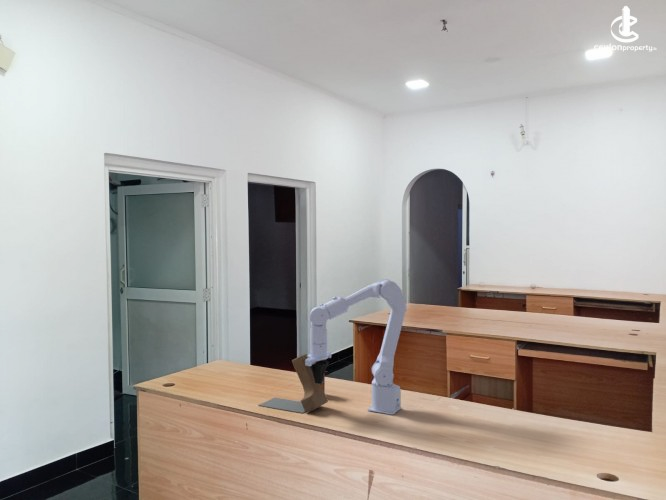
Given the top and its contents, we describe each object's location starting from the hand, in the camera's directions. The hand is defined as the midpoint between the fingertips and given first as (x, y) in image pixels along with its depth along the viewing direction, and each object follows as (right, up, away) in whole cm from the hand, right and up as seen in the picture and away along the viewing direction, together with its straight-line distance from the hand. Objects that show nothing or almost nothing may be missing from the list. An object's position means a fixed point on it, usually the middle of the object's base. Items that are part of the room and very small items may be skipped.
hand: (318, 383), depth 175 cm
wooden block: (0, -9, 0) cm, 9 cm away
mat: (-11, -9, +6) cm, 15 cm away
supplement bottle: (-1, -10, +18) cm, 20 cm away
